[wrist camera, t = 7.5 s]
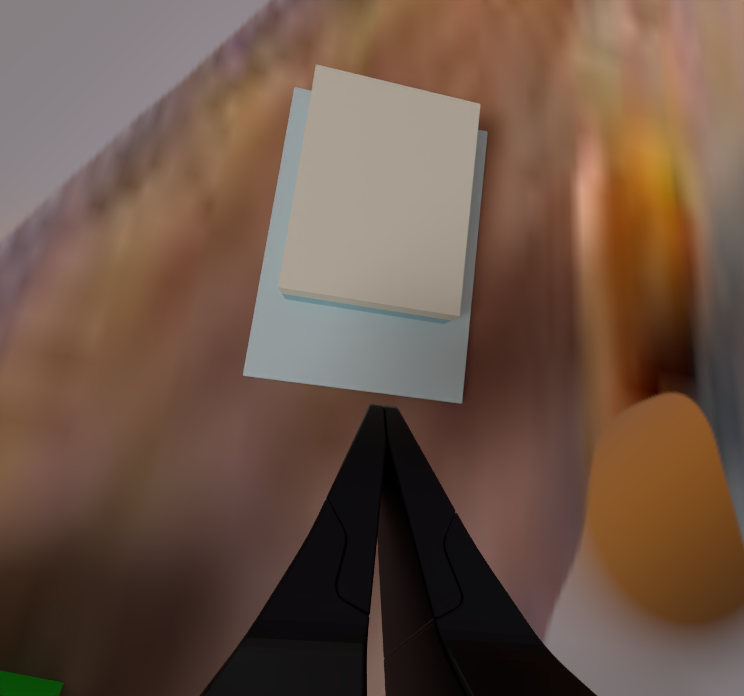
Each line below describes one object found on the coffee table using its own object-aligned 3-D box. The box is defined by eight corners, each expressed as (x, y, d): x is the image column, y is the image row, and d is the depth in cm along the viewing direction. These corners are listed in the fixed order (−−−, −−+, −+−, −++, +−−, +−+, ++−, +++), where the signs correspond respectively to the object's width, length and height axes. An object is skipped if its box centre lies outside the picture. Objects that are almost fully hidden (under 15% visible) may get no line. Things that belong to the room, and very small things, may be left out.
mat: (459, 403, 18) (462, 403, 17) (244, 375, 16) (242, 375, 16) (484, 136, 20) (487, 131, 19) (295, 93, 18) (294, 87, 18)
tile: (459, 316, 15) (480, 104, 17) (277, 287, 14) (316, 64, 16) (443, 324, 18) (463, 135, 19) (285, 299, 17) (318, 102, 18)
